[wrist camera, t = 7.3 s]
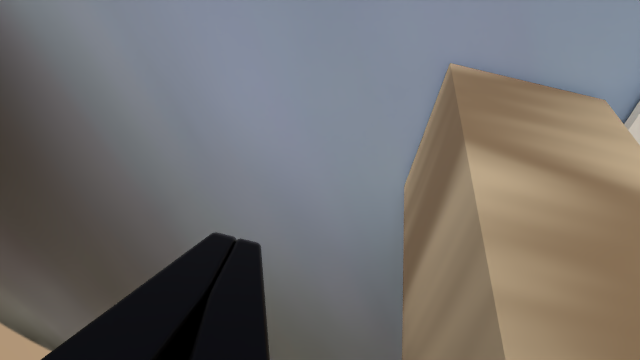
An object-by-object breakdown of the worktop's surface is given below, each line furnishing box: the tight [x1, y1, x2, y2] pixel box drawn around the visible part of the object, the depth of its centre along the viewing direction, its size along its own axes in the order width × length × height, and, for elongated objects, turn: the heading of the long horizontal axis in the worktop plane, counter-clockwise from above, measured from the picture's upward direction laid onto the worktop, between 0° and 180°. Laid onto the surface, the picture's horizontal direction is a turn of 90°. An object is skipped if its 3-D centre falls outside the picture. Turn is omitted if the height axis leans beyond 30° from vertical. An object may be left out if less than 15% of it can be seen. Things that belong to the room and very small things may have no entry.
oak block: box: [402, 63, 640, 360], centre depth 9 cm, size 4×4×9 cm
